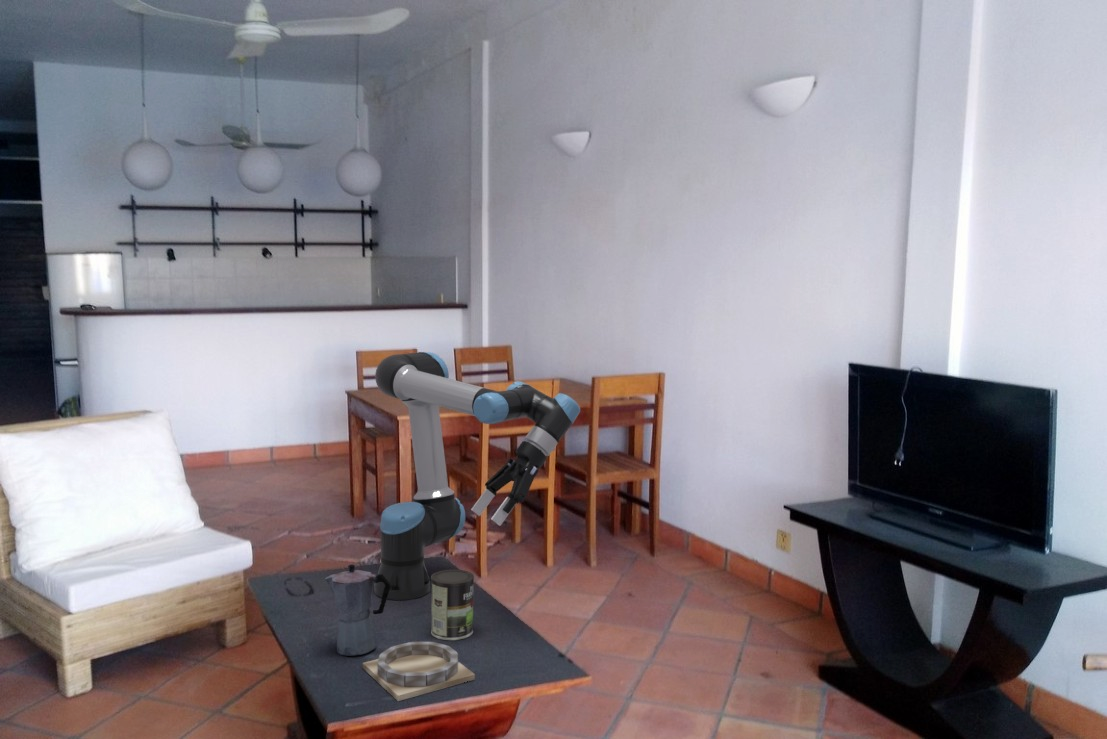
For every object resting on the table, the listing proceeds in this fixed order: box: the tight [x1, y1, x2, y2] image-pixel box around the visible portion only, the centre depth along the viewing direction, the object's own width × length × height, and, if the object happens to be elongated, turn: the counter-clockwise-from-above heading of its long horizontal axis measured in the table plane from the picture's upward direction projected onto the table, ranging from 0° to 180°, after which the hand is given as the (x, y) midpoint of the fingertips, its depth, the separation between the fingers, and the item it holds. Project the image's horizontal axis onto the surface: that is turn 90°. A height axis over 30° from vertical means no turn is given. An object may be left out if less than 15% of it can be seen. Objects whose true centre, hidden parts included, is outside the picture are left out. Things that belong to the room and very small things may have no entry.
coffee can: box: [430, 569, 475, 641], centre depth 214 cm, size 10×10×14 cm
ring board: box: [362, 641, 476, 702], centre depth 192 cm, size 18×18×4 cm
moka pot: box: [324, 564, 390, 657], centre depth 203 cm, size 10×15×20 cm, turn 88°
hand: (484, 517), depth 216 cm, fingers open, 13 cm apart
